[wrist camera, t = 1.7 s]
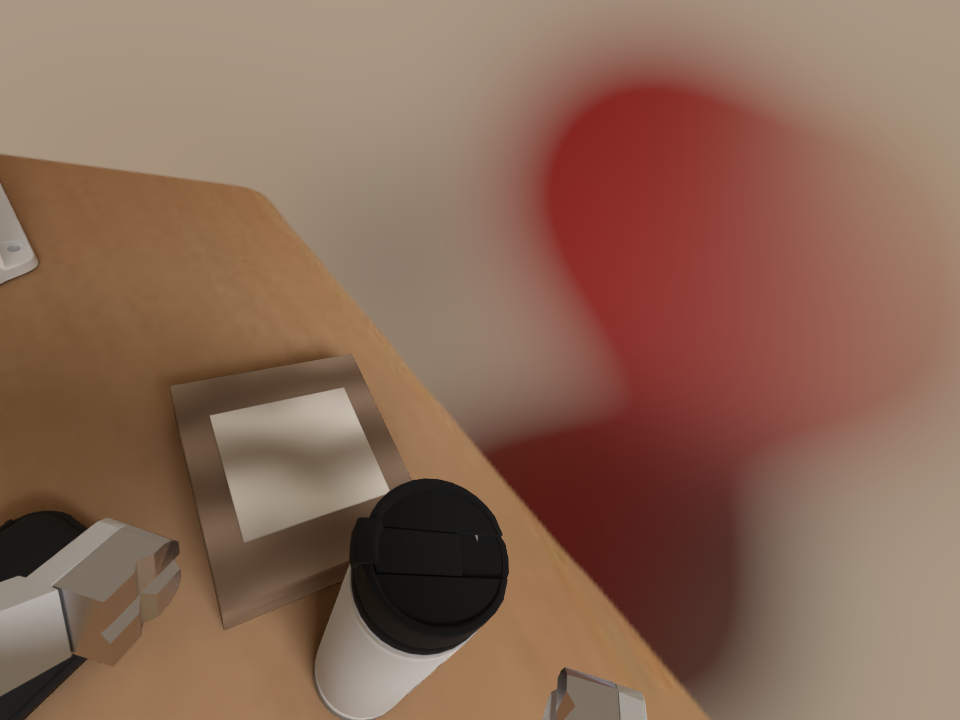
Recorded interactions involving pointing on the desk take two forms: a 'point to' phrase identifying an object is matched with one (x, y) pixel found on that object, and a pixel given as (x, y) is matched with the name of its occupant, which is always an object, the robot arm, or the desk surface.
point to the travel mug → (409, 595)
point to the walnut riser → (282, 477)
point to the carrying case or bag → (20, 555)
